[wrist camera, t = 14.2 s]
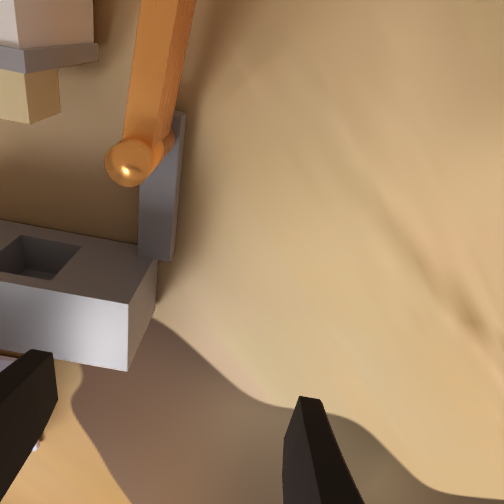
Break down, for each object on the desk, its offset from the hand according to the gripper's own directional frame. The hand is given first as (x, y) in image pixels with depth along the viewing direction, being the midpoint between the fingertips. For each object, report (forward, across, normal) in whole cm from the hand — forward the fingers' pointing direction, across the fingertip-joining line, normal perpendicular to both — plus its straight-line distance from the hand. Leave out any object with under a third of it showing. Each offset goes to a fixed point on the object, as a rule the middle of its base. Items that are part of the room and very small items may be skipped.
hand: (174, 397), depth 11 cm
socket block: (+9, +8, 0) cm, 12 cm away
